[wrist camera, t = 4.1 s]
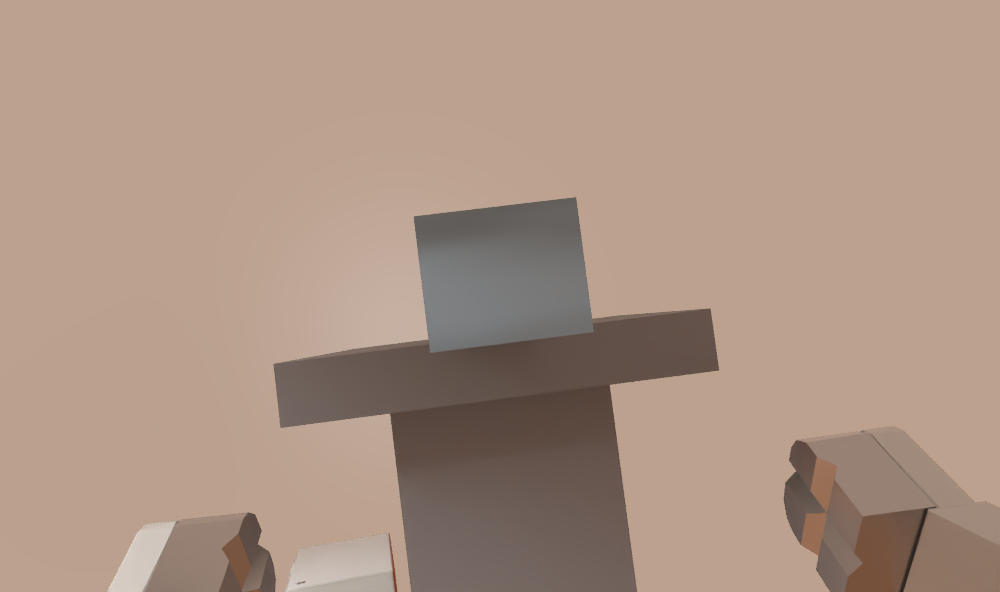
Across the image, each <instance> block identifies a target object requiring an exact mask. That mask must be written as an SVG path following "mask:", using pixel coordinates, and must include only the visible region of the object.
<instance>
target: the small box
mask: <svg viewBox="0 0 1000 592" xmlns="http://www.w3.org/2000/svg"><path fill="white" fill-rule="evenodd" d="M285 592H397V585H396V577H395V568H394V561H393V554H392V547H391V540H390V535H389V533H385V534H379V535H373V536H368V537H362V538H356V539H350V540H344V541H338V542H333V543H327V544H322V545H316V546H311V547H304V548H301V549H299V551H298V553H297V556H296V558H295V561H294V564H293V566H292V567H291V570H290V574H289V580H288V583H287V587H286V590H285Z"/></svg>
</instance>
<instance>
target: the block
mask: <svg viewBox="0 0 1000 592" xmlns="http://www.w3.org/2000/svg"><path fill="white" fill-rule="evenodd" d="M414 223H415V231H416V239H417V247H418V256H419V263H420V272H421V280H422V289H423V297H424V304H425V313H426V321H427V330H428V338H429V346H430V353H433V352H441V351H449V350H457V349H465V348H473V347H480V346H488V345H496V344H504V343H512V342H520V341H528V340H535V339H543V338H551V337H559V336H567V335H575V334H582V333H590V332H594V330H593V323H592V315H591V307H590V300H589V292H588V285H587V277H586V270H585V262H584V255H583V247H582V239H581V232H580V224H579V216H578V209H577V201H576V197H575V198H566V199H558V200H550V201H541V202H532V203H524V204H516V205H508V206H500V207H491V208H482V209H473V210H465V211H456V212H448V213H440V214H431V215H423V216H415V217H414Z"/></svg>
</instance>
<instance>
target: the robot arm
mask: <svg viewBox="0 0 1000 592" xmlns="http://www.w3.org/2000/svg"><path fill="white" fill-rule="evenodd" d="M789 461H790V462H791V463H792V465H793V467H794V468H795V470H796V472H795V473H794V474H793V475H792V476H791V477H790V478H789V479H788V481H787V482H786V483H785V492H784V504H785V509H786V515H787V519H788V521H789V524H790V526H791V528H792V531H793V533H794V534H795V536H796V538H797V539H798V541H799V542H800V544H801V545H802V546H804V547H805V548H807V549H809V550H810V551H812V552H814V553H815V554H817V555H818V556H819V557H818V562H817V568H816V570H817V572H818V573H819V575H820V576H821V578H822V580H823V581H824V583H825V584H826V586H827V587H828V589H829V590H830V592H1000V508H999V507H997V506H995V505H992V504H990V503H988V502H977V503H975V502H974V501H973V500H972V499H971V498H970V497H969V496H968V495H967V494H966V493H965V492H964V491H963V490H962V489H961V488H960V487H959V486H958V485H957V484H956V483H955V482H954V481H953V480H952V479H951V478H950V477H949V476H948V475H947V474H946V473H945V472H944V471H943V470H942V469H941V468H940V467H939V466H938V465H937V464H936V463H935V462H934V461H933V460H932V459H931V458H930V457H929V456H928V455H927V454H926V452H924V451H923V449H922V448H920V446H919V445H917V444H916V442H915V441H914V440H913V439H912V438H911V437H909V435H908V434H907V433H906V432H904V431H903V430H902V429H900V428H897V427H895V426H891V427H883V428H877V429H870V430H863V431H860V432H850V433H843V434H836V435H829V436H822V437H816V438H808V439H801V440H796V441H795V443H794V444H793V446H792V447H791V452H790V458H789ZM260 534H261V528H260V526H259V523H258V521H257V518H256V516H255V514H252V513H239V514H230V515H221V516H212V517H202V518H193V519H184V520H181V521H173V522H163V523H154V524H153V523H152V524H146V525H145V526H144V527H143V528H142V529H141V530H139V531H138V533H137V534H136V536H135V538H134V540H133V542H132V545H131V546H130V548H129V550H128V552H127V554H126V556H125V558H124V560H123V562H122V564H121V566H120V568H119V570H118V572H117V574H116V575H115V578H114V579H113V581H112V584H111V585H110V587H109V589H108V591H107V592H275V580H276V579H275V572H274V566H273V562H272V559H271V556H270V553H269V551H267V550H266V549H264V548H263V547H261V546H259V545H258V541H259V538H260Z"/></svg>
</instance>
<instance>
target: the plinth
mask: <svg viewBox="0 0 1000 592" xmlns="http://www.w3.org/2000/svg"><path fill="white" fill-rule="evenodd" d="M592 323H593V330H594V332H590V333H582V334H575V335H567V336H559V337H551V338H543V339H535V340H528V341H520V342H512V343H504V344H496V345H488V346H480V347H473V348H465V349H457V350H449V351H441V352H433V353H430V346H429V340H423V341H414V342H406V343H398V344H390V345H383V346H375V347H367V348H360V349H352V350H347V351H341V352H336V353H330V354H325V355H320V356H314V357H309V358H303V359H298V360H292V361H288V362H282V363H276V364H274V372H275V381H276V390H277V399H278V408H279V417H280V426H281V428H282V427H290V426H298V425H306V424H313V423H321V422H329V421H336V420H344V419H351V418H359V417H366V416H374V415H382V414H390V415H391V424H392V431H393V441H394V449H395V457H396V466H397V474H398V483H399V491H400V500H401V508H402V517H403V525H404V534H405V542H406V550H407V559H408V567H409V576H410V584H411V592H637V589H636V581H635V574H634V566H633V560H632V559H633V558H632V551H631V543H630V536H629V528H628V521H627V513H626V505H625V498H624V490H623V483H622V475H621V468H620V460H619V453H618V446H617V438H616V430H615V422H614V415H613V407H612V400H611V392H610V385H611V384H618V383H625V382H634V381H640V380H641V381H642V380H649V379H657V378H664V377H672V376H680V375H686V374H695V373H703V372H710V371H717V370H719V367H718V360H717V352H716V345H715V338H714V331H713V324H712V317H711V309H698V310H685V311H672V312H660V313H647V314H634V315H621V316H612V317H604V318H596V319H592Z"/></svg>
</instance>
